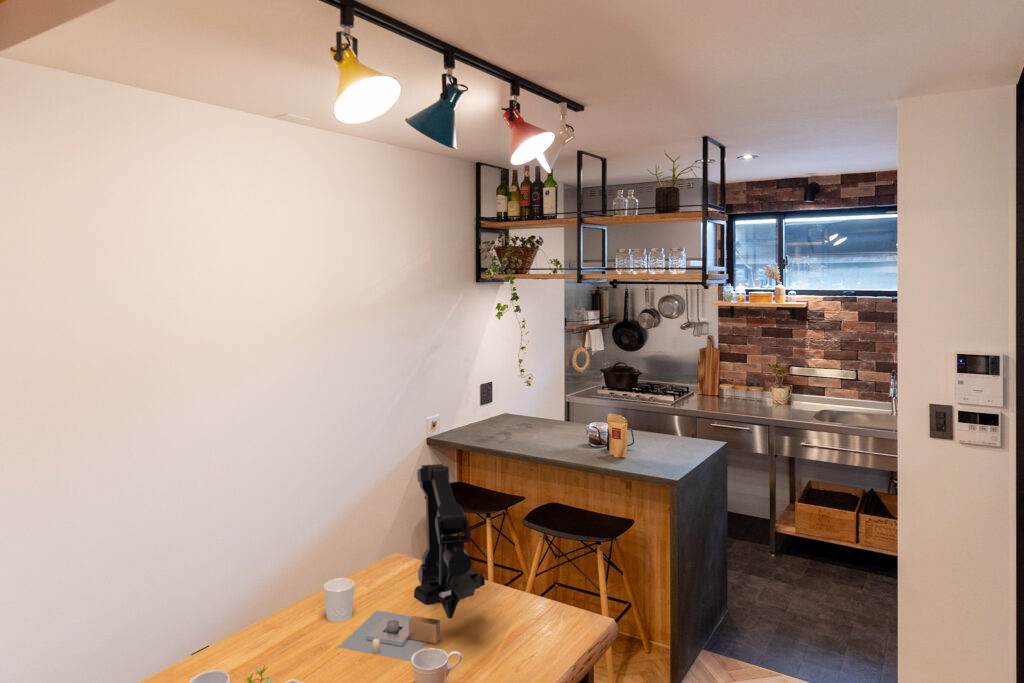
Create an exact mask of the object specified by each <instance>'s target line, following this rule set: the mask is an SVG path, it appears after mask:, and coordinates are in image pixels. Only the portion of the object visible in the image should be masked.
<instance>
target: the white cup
mask: <svg viewBox="0 0 1024 683" xmlns="http://www.w3.org/2000/svg"><path fill="white" fill-rule="evenodd" d="M323 590H324V605H325V606H324V607H325V614H326V615H325V616H326V619H327V620H328V622H333V623H343V622H346V621H348V620H350V619H351V618H352V617H353V609H354V599H355V598H354V597H355V596H354V595H355V581H354V580H352V579H350V578H345V577H344V578H343V577H341V578H334V579H333V578H332V579H331V580H327V582H325V583H324V586H323Z"/></svg>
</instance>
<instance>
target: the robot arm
mask: <svg viewBox="0 0 1024 683" xmlns="http://www.w3.org/2000/svg"><path fill="white" fill-rule="evenodd" d="M416 471H417V472H416V473H417V474H416V476H417V477H416V478H417V482H418V483H419V488H420V489H421V491H422V492H423V494H424V495H425V513H426V514H425V515H426V516H425V517H426V519H425V520H426V549H425V551H424V553H423V555H422V557H421V564H420V565H419V568H418V573H417V574H418V575H417V576H418V577H417V578H418V581H419V584H420V585H417V586H416V587H415V588H414V590H413V598H414V599H415V600H418V601H419V602H421V603H422V604H424V605H425V606H429V605H434V604H437V603H441V605H442V608H443V610H444V612H445V615H446V617H447V618H448V619H453V617H454V614H455V611H456V609H457V606H458V603H459V602H460V600H465V599H466V598H468V597H473V596H474V595H475V591H476V590H477V589H481V587H484V586H485V585H486V584H485V583H486V577H485V575H484V574H483V573H482V572H480V571H478V570H476V569H474V568H471V567H472V560H471V557H470V556H469V554H468V553H467V550H466V549H465V543H470V540H471V539H470V537H471V535H472V532H471V528H470V527H471V526H470V523H469V519H468V517H467V515H466V514H465V513H464V511H463V508H462V506H461V505H460V504H459V503H457V502H456V500H455V498H454V494H453V490H452V486H451V483H450V478H451V477H450V467H449V466H446V465H444V464H443V463H438V464H437V463H436V464H423V465H421V467H420V468H418V469H417V470H416ZM463 533H464V534H463ZM459 534H460V535H459Z"/></svg>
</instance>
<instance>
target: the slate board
mask: <svg viewBox="0 0 1024 683" xmlns="http://www.w3.org/2000/svg"><path fill="white" fill-rule="evenodd" d="M412 616H413V615H406V614H401V613H395V612H388V611H383V610H377V609H376V610H375V611H374V612H373V613H372V614H370V616H369V617H368V618H367V619H366V620H365V621H364V622H362V623H361V624H360V625H359V626H358V627H357V628H356V629H355V630H354V631H353V632H352V633H351V634H350V635H349V636H348V637H347V638H346V639H345V640H344V641H342V643H340V644H339V645H338V648H341V649H345V650H350V651H357V652H361V653H364V654H365V653H366V654H372V655H377V656H380V657H387V658H392V659H397V660H402V661H408V662H411V657H412V655H413V654H414V653H415V652H417V651H419V650H421V649H424V648H425V647H426V645H427V644H428V642H423V641H418V640H412V639H408V640H407V641H406V643H405V644H404V645H403V646H397V645H392V644H387V643H381V642H380V639H374V640H373V641H371V640H366V635H367V634H368V633H369V632H370V631H371V630H372V629H373V628H374V627H375V626H376V625H377V624H378V623H379V622H380V621H381V620H382V619H383V618H384V617H385V618H391V619H397V620H402V621H408V622H409V619H410V618H411V617H412ZM397 620H390V621H388V622H387V631H386V632H385V633H390V634H396V635H397V634H398V633H399V631H400V630H399V621H397ZM444 622H445V621H441V620H440V627H442V625H443V624H444ZM421 651H422V650H421Z"/></svg>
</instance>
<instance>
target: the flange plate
mask: <svg viewBox="0 0 1024 683" xmlns="http://www.w3.org/2000/svg"><path fill="white" fill-rule="evenodd" d="M411 616H412V617H411V618H410V619H409V622H408V621H402V620H397V619H391V618H385V617H384V618H383V619H382V620H381V621H380V622H379V623H378V624H377V625H376V626H375V627H374V628H373V629H372V630H371V631H370V632H369V633H368V634H367V635H366V640H371V641H373V640H374V639H380V642H381V643H387V644H392V645H397V646H403V645H404V644H405V643H406V641H407V640H408V639H412V640H418V641H423V642H427V643H429V644H435V645H436V644H437V643H438V642H439V641H440V639H441V626H440V621H441V620H439V619H436V618H435V619H434V618H428V617H424V616H418V615H411ZM390 620H397V621H399V630H400V631H399V633H398V634H397V635H396V634H390V633H385V632H386V631H387V622H388V621H390Z"/></svg>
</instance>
